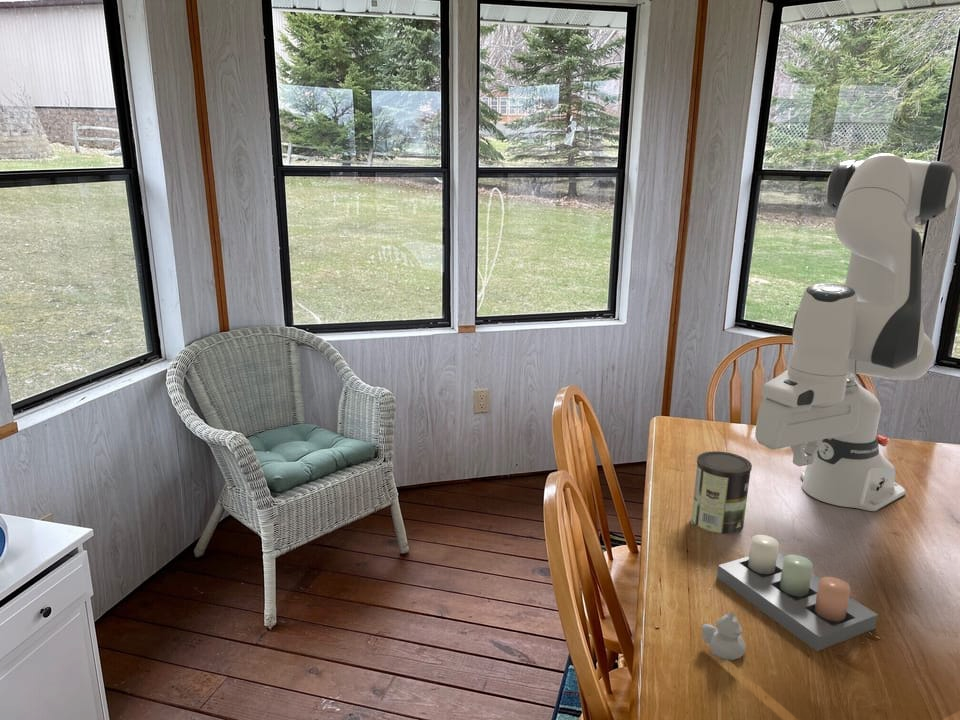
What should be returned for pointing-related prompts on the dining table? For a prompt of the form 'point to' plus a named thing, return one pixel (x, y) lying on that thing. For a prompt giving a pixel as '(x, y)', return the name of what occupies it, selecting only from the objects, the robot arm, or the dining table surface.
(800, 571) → the sage button
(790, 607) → the grey rectangular tray
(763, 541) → the ivory button
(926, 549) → the dining table surface
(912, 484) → the dining table surface
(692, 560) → the dining table surface
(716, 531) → the coffee can
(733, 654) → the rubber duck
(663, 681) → the dining table surface
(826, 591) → the terracotta button
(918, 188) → the robot arm
